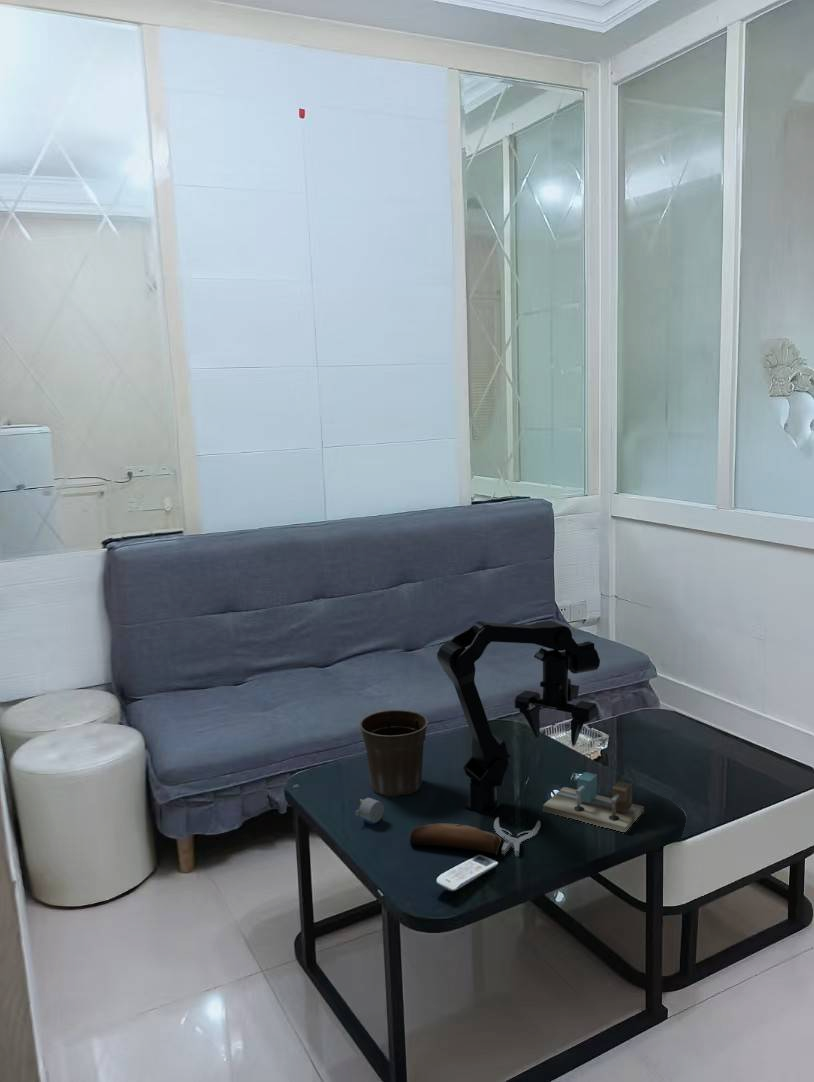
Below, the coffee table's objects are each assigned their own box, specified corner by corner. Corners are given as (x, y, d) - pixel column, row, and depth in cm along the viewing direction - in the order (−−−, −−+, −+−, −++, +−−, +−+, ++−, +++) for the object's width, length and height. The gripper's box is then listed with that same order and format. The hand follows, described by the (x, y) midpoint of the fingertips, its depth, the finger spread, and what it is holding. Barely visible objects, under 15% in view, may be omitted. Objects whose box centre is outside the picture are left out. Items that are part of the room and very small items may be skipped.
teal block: (584, 808, 187) (584, 786, 186) (571, 804, 188) (571, 783, 188) (596, 795, 192) (597, 774, 192) (584, 792, 194) (584, 771, 193)
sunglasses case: (503, 835, 180) (499, 817, 175) (498, 866, 174) (494, 848, 170) (420, 826, 185) (415, 808, 181) (413, 855, 180) (407, 838, 175)
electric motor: (372, 811, 193) (371, 790, 192) (387, 817, 190) (387, 796, 189) (350, 823, 188) (349, 801, 187) (366, 829, 185) (365, 808, 184)
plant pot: (415, 806, 195) (413, 738, 193) (350, 796, 201) (348, 730, 199) (439, 776, 210) (437, 713, 208) (378, 768, 216) (376, 707, 214)
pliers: (541, 817, 186) (534, 852, 171) (541, 824, 186) (534, 859, 171) (495, 813, 188) (485, 848, 173) (495, 820, 188) (485, 855, 174)
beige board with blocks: (625, 833, 180) (625, 802, 179) (542, 811, 191) (542, 781, 189) (643, 812, 189) (644, 782, 187) (564, 792, 199) (564, 764, 198)
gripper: (607, 673, 198) (607, 737, 200) (534, 661, 209) (535, 722, 211) (587, 686, 189) (587, 754, 191) (512, 673, 200) (513, 737, 202)
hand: (555, 741), depth 199 cm, fingers open, 9 cm apart
